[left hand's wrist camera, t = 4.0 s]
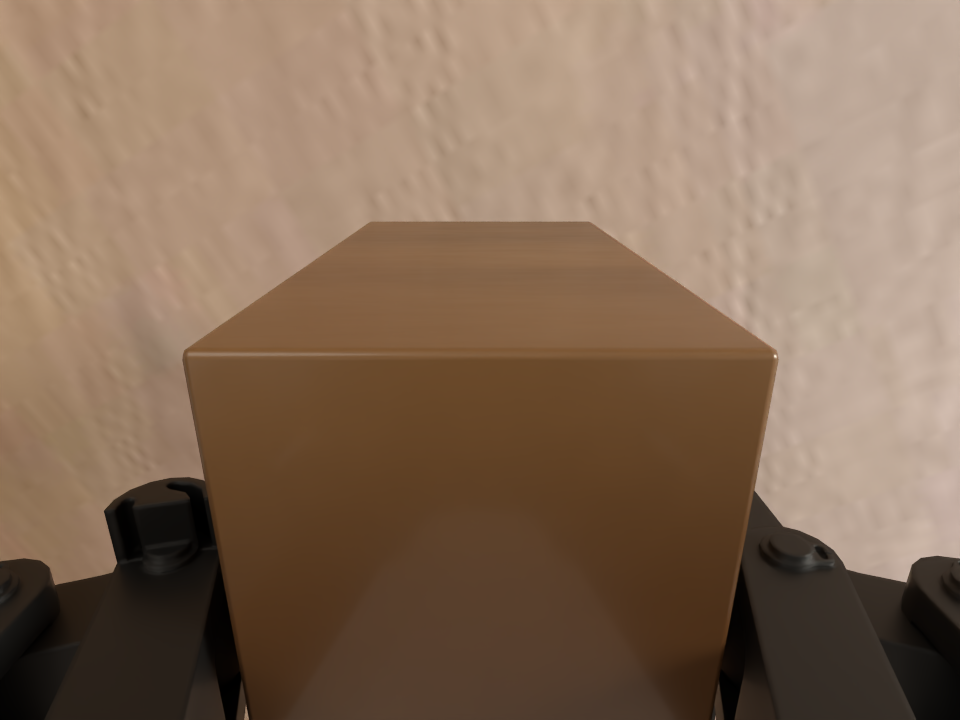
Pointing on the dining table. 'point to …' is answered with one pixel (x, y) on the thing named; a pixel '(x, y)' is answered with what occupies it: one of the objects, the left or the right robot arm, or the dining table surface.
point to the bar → (480, 478)
